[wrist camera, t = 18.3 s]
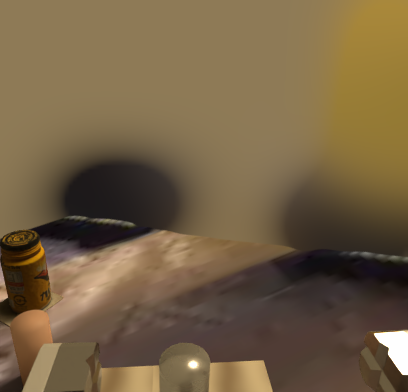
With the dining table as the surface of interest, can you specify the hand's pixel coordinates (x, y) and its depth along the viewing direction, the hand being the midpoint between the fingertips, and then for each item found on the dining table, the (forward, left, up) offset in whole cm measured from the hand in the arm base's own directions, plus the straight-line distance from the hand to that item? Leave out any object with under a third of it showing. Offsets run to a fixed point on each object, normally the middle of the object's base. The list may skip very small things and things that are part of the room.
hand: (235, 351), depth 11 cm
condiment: (-11, -45, -31) cm, 56 cm away
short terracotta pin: (-6, -31, -31) cm, 44 cm away
